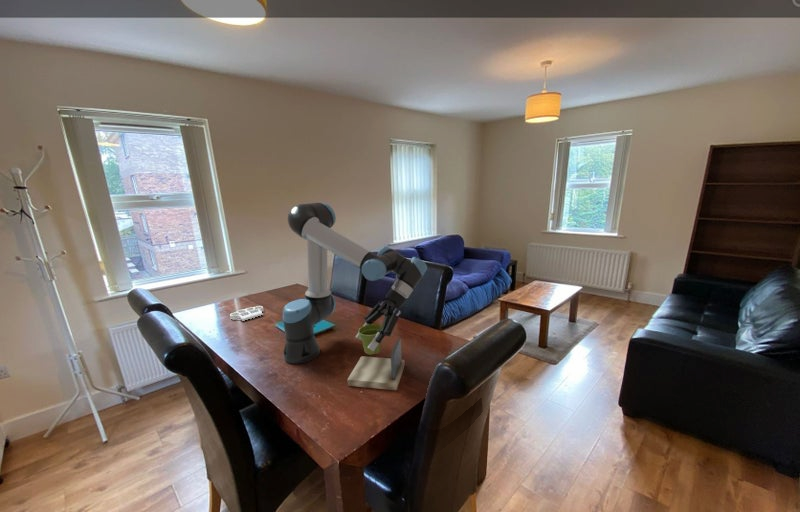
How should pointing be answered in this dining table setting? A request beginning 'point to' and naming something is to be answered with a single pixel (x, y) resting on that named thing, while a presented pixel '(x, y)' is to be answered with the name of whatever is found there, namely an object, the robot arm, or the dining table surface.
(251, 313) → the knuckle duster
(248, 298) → the dining table surface
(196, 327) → the dining table surface
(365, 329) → the plant pot
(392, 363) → the bookend
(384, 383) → the shelf board
